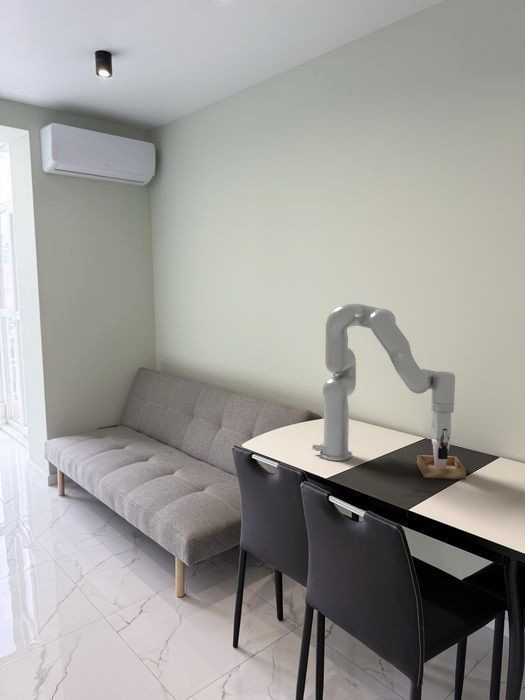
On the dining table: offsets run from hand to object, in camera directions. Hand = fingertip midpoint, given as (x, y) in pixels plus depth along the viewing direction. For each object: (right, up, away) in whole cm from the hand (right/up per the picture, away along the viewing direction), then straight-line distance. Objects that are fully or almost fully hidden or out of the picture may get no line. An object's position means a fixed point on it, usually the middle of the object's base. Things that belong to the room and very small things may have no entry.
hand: (440, 455), depth 181 cm
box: (0, -6, +1) cm, 6 cm away
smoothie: (0, -4, +1) cm, 4 cm away
